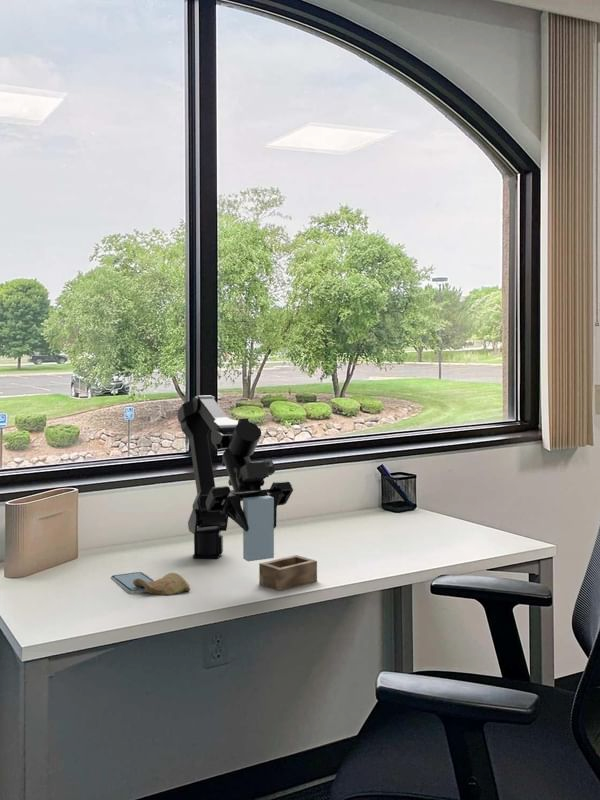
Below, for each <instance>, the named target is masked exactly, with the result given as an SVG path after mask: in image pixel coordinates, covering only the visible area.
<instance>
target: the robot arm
mask: <svg viewBox="0 0 600 800" xmlns="http://www.w3.org/2000/svg"><path fill="white" fill-rule="evenodd" d="M177 421H178V423H180V429H181V432H182V433H183V434H184V435H185V437H187V438H188V440H189V445H190V452H191V459H192V466H193V468H192V469H193V473H194V480H195V486H196V487H195V488H196V496H195V499H194V501H193V503H192V511H191V513H190V515H189V518H188V521H187V527H188V531H189V532H190V533H191V534H193V544H194V545H193V546H194V547H193V551H194V552H193V554H192V559H193V558H194V559H219V558H220V557H221V556H222V554H223V552H224V536H223V535H222V533H221V532H226V531H227V529H228V522H229V519H231V520H233V521H234V522H235V523H236V524H237V525H238V526H239V527H240V528H241V529H242V530H243V529H244V530H245V531H246V532H248V530H249V527H248V523H247V520H246V518H245V515H244V512H243V506H242V504H241V502H243V498H249V497H260V496H271V497H273V498H274V529H276V527H277V514H278V513H277V509H278V508H277V507H278V506H284V505H286V504H287V502H288V501H289V499H290V497H291V495H292V493H293V492H294V488H293V486H292V484H291V482H290V481H288V480H284V481H282V480H281V481H274V482H272V483H271V485H270V488H268V489H267V488H266V489H262V488H261V487H263V486H264V484H265V479H266V478H269V477H270V476H272V475H273V474H274V473H276V468H275V464H274V462H273V460H272V459H270V458H269V459H264V460H263V461H256V462H254V461H253V462H252V461H251V458H250V456H252V455H254V453H255V450H256V448H257V446H258V443H259V442H260V439H261V436H262V430H261V428H260V427H259V426H258V425H257V424H255V423H254V422H251V421H249V418H248V417H242V418H241V417H240V418H239V419H238V420H237V419H233V418H232V419H231V418H230V417H228V415H227V414H226V413H225V411H224V410H223V409H222V408H221V406H220V405H219V404H218V403H217V399H216V396H213V395H211V394H209V395H205V394H204V395H196V396H194V397H193V398H192V399H191V400H189V401H187V402H184V403H182V404H181V405H180V407H179V408H178V410H177ZM210 430H211V433H210V440H211V444H212V445H213V446H214V448H215V449H216V450H224V451H223V453H222V455H221V456H222V462H221V465H222V467H225V469H226V472H227V475H228V478H229V479H228V485H229V486H227V485H226V486H216V482H215V476H214V470H213V469H214V468H213V462H212V457H211V450H210V443H209V437H208V436H209V435H208V434H209V432H210ZM230 486H231V487H232V489H231V487H230Z"/></svg>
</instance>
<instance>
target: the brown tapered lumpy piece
mask: <svg viewBox="0 0 600 800" xmlns="http://www.w3.org/2000/svg"><path fill="white" fill-rule="evenodd" d="M133 584H134V585H135V586H136V587H145V589H146V590H147V591H148V593H149V594H153V595H155V594H156V595H160V596H172V595H179V594H181V593H183V592H186V591H187V592H188V591H191V587H190V584H189V582H188V581H187V580H186V579H185V578H184V577H183V576H181V575H180V574H178V573H177V572H169V573H166V574H165V575H163V576H162V577H161V578H158V579H156V580H154V581H152V582H145V581H144V580H142V579H135V580H134V581H133Z"/></svg>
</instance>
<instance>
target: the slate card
mask: <svg viewBox="0 0 600 800" xmlns="http://www.w3.org/2000/svg"><path fill="white" fill-rule="evenodd" d="M242 510H243V512H244V515H245V518H246V520H247V523H248V527H249V530H248V532H246V531H245V530H244V529H242V540H243V542H242V543H243V544H242V545H243V546H242V547H243V548H242V549H243V550H242V552H243V553H242V554H243V560H245V561H246V562H254V561H261V560H269V559H270V560H271V559H274V557H275V528H274V498H273V497H271V496H260V497H249V498H243V501H242Z"/></svg>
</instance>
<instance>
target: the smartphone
mask: <svg viewBox="0 0 600 800" xmlns="http://www.w3.org/2000/svg"><path fill="white" fill-rule="evenodd" d="M110 578H111V579H112V580H113V581H114V582H115V583H116V584H117V585H119V586H120V587H121V588H122V589H123V590H125V591H126V592H127V593H128V594H130V595H133V594H134V595H135V594H142V593H147V592H148V591H147V590H146V589H145V587H136V586H135V585H134V584H133V581H134V580H135V579H142V580H144V581H145V582H152V581H155V580H154V579H152V577H150V576H149V575H147V574H145V573H144V572H141V571H137V572H135V571H134V572H129V573H122V574H113V575H111V576H110ZM148 593H149V592H148Z"/></svg>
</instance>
